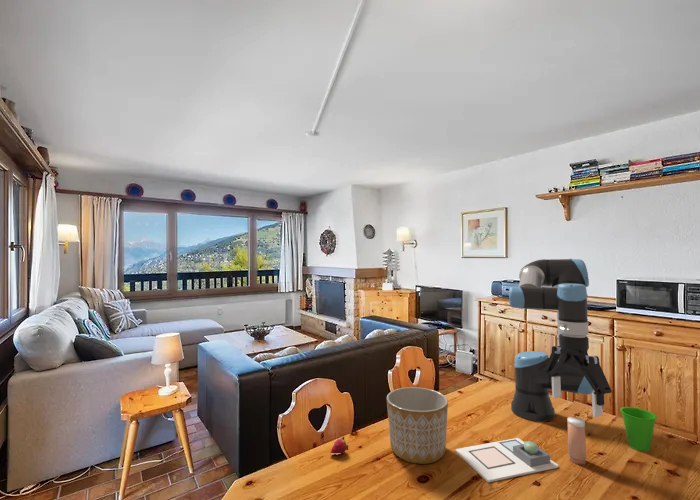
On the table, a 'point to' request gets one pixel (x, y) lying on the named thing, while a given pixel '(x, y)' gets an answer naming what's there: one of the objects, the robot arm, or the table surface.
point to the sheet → (499, 460)
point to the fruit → (339, 446)
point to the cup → (638, 427)
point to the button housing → (531, 460)
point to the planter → (417, 424)
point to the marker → (576, 440)
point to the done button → (530, 448)
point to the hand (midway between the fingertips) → (575, 406)
